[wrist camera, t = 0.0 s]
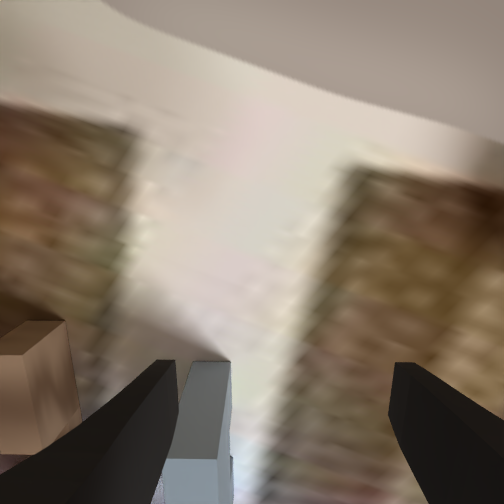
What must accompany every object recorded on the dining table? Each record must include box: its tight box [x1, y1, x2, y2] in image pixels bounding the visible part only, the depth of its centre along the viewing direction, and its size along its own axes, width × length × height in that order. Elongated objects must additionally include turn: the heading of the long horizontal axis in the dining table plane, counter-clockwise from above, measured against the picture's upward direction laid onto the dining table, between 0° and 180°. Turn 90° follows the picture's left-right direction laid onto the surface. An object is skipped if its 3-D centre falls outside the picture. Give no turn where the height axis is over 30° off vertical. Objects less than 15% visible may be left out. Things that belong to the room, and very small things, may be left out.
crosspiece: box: [162, 361, 234, 504], centre depth 20 cm, size 12×3×8 cm, turn 0°
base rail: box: [0, 320, 82, 455], centre depth 22 cm, size 18×3×4 cm, turn 0°
